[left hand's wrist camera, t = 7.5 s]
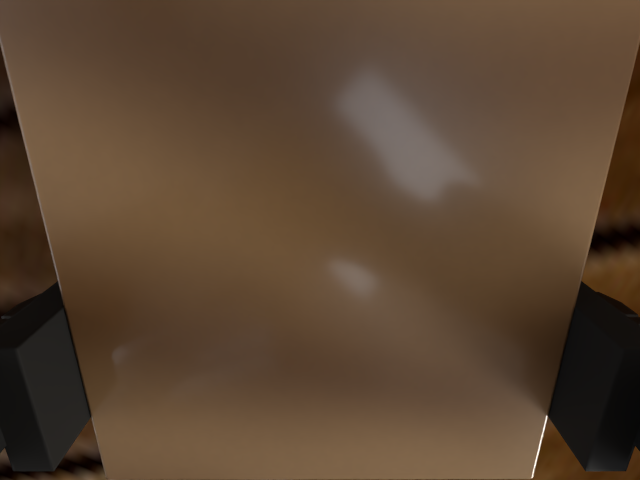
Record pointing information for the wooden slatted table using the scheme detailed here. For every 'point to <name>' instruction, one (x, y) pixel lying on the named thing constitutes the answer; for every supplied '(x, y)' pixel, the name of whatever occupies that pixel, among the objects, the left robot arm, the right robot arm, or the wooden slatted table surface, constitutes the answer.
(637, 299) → the wooden slatted table surface
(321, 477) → the cabinet
